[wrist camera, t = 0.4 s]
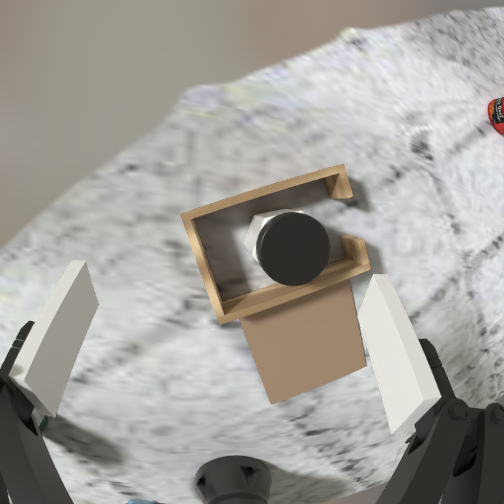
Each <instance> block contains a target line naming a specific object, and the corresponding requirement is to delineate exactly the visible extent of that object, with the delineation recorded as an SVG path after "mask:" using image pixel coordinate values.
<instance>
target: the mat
mask: <svg viewBox="0 0 504 504" xmlns="http://www.w3.org/2000/svg"><path fill="white" fill-rule="evenodd" d="M239 320H240V322H241V325H242V328H243V331H244V333H245V336H246V339H247V342H248V344H249V347H250V350H251V352H252V355H253V358H254V360H255V363H256V366H257V368H258V371H259V374H260V376H261V379H262V382H263V384H264V387H265V390H266V392H267V395H268V397H269V400H270V403H271V404H274V403H277V402H279V401H282V400H285V399H288V398H291V397H293V396H296V395H299V394H301V393H304V392H307V391H309V390H312V389H314V388H317V387H319V386H322V385H324V384H327V383H329V382H332V381H334V380H336V379H339V378H341V377H343V376H346V375H348V374H350V373H352V372H355V371H357V370H359V369H361V368H363V367H366V362H365V356H364V351H363V345H362V340H361V335H360V330H359V325H358V320H357V315H356V310H355V305H354V301H353V296H352V291H351V287H350V283H349V278H348V279H346V280H343V281H340V282H338V283H335V284H333V285H330V286H328V287H325V288H322V289H320V290H317V291H314V292H312V293H309V294H306V295H304V296H301V297H298V298H296V299H293V300H290V301H287V302H285V303H282V304H279V305H276V306H273V307H271V308H268V309H265V310H262V311H259V312H256V313H253V314H251V315H248V316H245V317H242V318H239Z"/></svg>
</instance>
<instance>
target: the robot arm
mask: <svg viewBox="0 0 504 504" xmlns="http://www.w3.org/2000/svg"><path fill="white" fill-rule="evenodd" d="M98 305H99V303H98V300H97V297H96V294H95V291H94V288H93V285H92V281H91V278H90V275H89V271H88V268H87V264H86V261H75V260H72V261H71V263H70V264H69V266H68V267H67V269H66V270H65V272H64V274H63V275H62V277H61V278H60V280H59V282H58V283H57V285H56V287H55V288H54V290H53V292H52V293H51V295H50V297H49V298H48V300H47V302H46V303H45V305H44V307H43V309H42V310H41V312H40V314H39V316H38V318H37V319H36V321H35V322H33V321H28V322H27V323H26V324H25V325H24V326H23V327H22V328H21V330H20V331H19V333H18V335H17V337H16V340H15V341H14V343H13V344H12V348H10V350H9V352H8V354H7V356H6V358H5V360H4V362H3V364H2V366H1V369H0V504H10V503H9V498H8V493H9V495H10V498H11V500H12V503H13V504H74V503H73V501H72V499H71V498H70V496H69V494H68V492H67V490H66V488H65V486H64V484H63V482H62V480H61V478H60V476H59V474H58V472H57V470H56V468H55V465H54V463H53V461H52V459H51V456H50V454H49V452H48V449H47V447H46V445H45V442H44V440H43V437H42V435H41V432H40V430H39V427H38V424H37V421H36V419H35V416H34V415H33V413H32V411H33V409H34V407H35V408H36V409H37V410H38V411H39V413H40V414H44V415H47V416H50V417H54V418H55V417H56V414H57V411H58V408H59V405H60V402H61V399H62V396H63V393H64V390H65V387H66V385H67V382H68V379H69V376H70V374H71V371H72V368H73V366H74V363H75V360H76V358H77V355H78V353H79V350H80V348H81V345H82V343H83V340H84V338H85V336H86V333H87V331H88V328H89V326H90V324H91V321H92V319H93V317H94V314H95V312H96V310H97V308H98ZM357 317H358V320H359V323H360V326H361V329H362V333H363V336H364V339H365V342H366V345H367V348H368V352H369V355H370V358H371V362H372V365H373V368H374V372H375V375H376V379H377V382H378V386H379V389H380V393H381V396H382V400H383V404H384V407H385V411H386V415H387V419H388V423H389V427H390V431H391V434H396V433H402V432H407V431H409V430H410V429H411V428H412V427H413V426H414V425H415V428H416V432H415V433H414V434H413V435H412V436H411V437H409V438H408V439H407V441H406V442H405V443H408V442H410V443H409V445H408V447H407V449H406V451H405V453H404V455H403V457H402V459H401V461H400V463H399V464H398V466H397V468H396V470H395V472H394V474H393V475H392V477H391V479H390V481H389V482H388V484H387V486H386V487H385V489H384V491H383V493H382V494H381V496H380V498H379V499H378V501H377V502H376V504H438V503H439V501H440V498H441V496H442V494H443V496H442V501H441V504H504V407H503V406H502V405H501V404H498V403H491V404H489V405H488V406H487V407H486V408H485V409H478V408H470V407H468V405H467V404H466V403H465V402H464V401H463V400H461V399H458V398H456V397H455V395H454V392H453V390H452V387H451V385H450V382H449V380H448V377H447V375H446V373H445V370H444V368H443V367H442V363H441V361H440V359H439V356H438V354H437V352H436V350H435V347H434V346H433V345H432V344H431V343H430V342H429V341H428V340H427V339H418V338H417V336H416V333H415V331H414V329H413V327H412V324H411V322H410V320H409V318H408V316H407V313H406V311H405V309H404V307H403V305H402V303H401V301H400V299H399V297H398V295H397V292H396V290H395V288H394V286H393V284H392V282H391V280H390V278H389V276H388V274H373V276H372V278H371V281H370V284H369V287H368V289H367V292H366V295H365V297H364V300H363V303H362V305H361V308H360V310H359V313H358V316H357ZM270 486H271V477H270V474H269V470H268V468H267V467H266V466H265V465H264V464H263V463H261V462H260V461H258V460H256V459H253V458H249V457H243V456H227V457H221V458H217V459H214V460H212V461H209V462H207V463H206V464H204V465H203V466H202V467H201V468H200V469H199V470H198V471H197V474H196V489H197V492H198V494H199V496H200V498H201V500H202V502H203V504H268V497H269V492H270ZM7 490H8V493H7ZM126 504H164V503H158V502H157V501H146V500H140V499H132V500H130V501H128V502H127V503H126Z"/></svg>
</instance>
